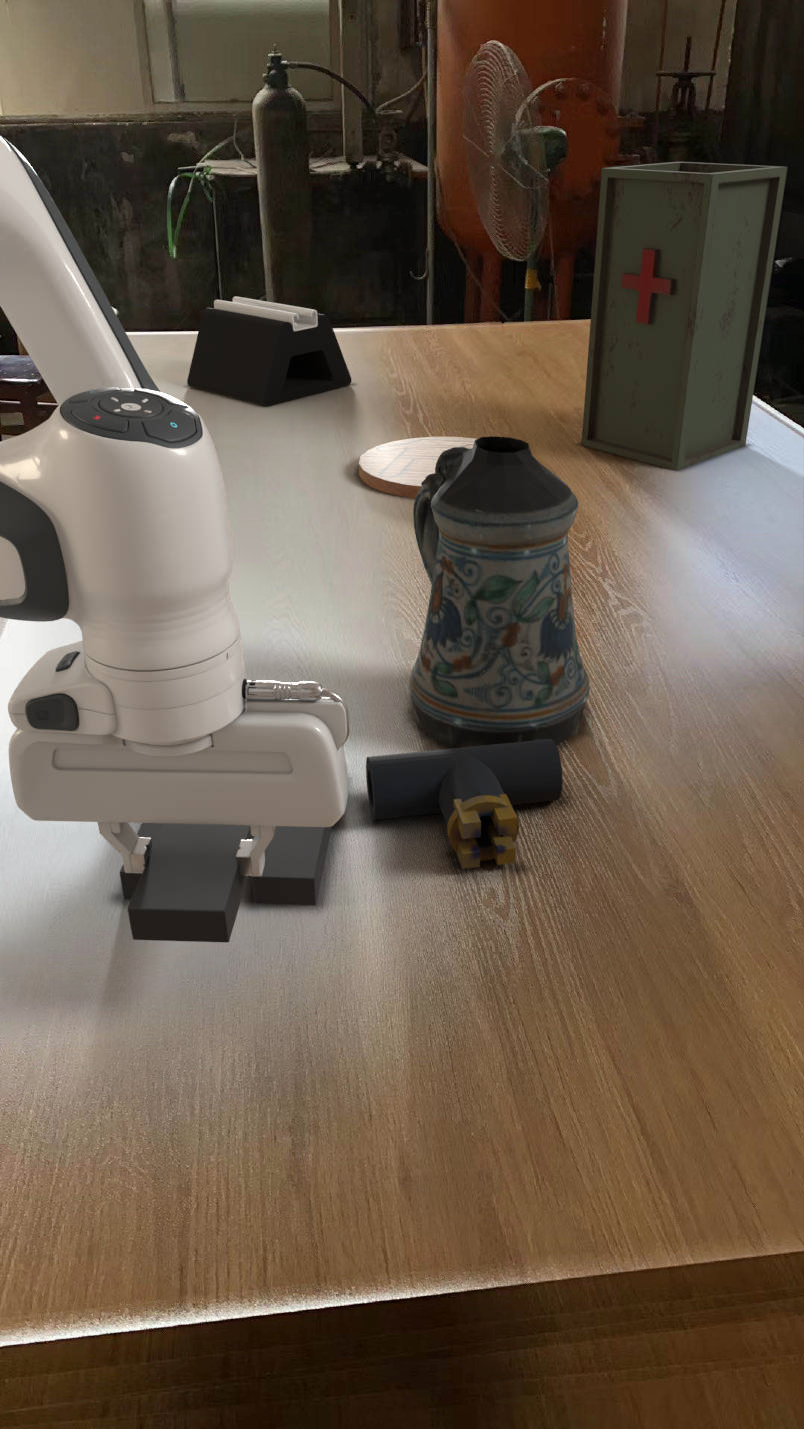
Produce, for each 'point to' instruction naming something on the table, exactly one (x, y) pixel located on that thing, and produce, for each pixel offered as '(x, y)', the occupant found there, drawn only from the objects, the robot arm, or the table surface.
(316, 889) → the base pad
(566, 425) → the table surface
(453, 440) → the trivet
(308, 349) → the device stand
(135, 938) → the black tile
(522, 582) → the beer stein
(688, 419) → the first aid box
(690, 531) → the table surface
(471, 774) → the pipe connector
